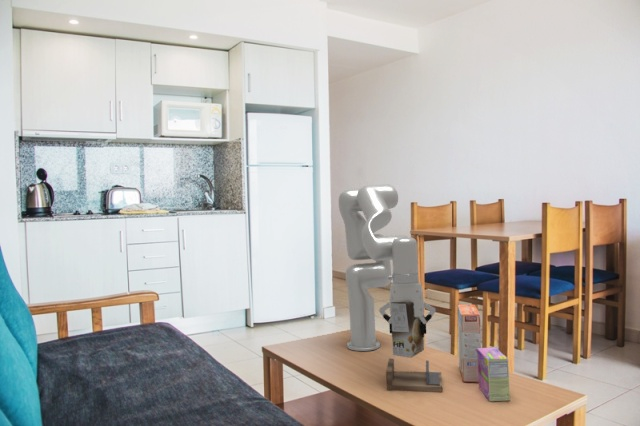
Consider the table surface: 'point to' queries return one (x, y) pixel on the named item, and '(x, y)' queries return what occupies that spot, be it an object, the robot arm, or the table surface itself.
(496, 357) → the box
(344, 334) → the table surface
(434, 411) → the table surface
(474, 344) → the cracker box
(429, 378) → the bookend
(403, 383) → the shelf
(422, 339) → the coffee box
